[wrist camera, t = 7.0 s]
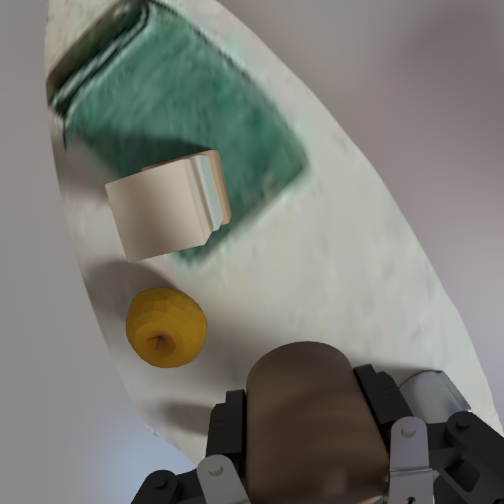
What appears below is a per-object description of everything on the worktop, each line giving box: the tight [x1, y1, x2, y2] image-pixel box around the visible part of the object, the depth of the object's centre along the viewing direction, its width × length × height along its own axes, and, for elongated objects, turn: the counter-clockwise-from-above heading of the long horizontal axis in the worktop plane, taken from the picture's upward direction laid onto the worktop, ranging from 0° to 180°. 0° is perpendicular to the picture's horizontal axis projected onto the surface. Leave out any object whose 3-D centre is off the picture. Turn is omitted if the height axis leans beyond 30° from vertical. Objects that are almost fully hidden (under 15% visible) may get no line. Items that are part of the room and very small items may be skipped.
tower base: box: [141, 150, 232, 225], centre depth 32 cm, size 7×7×5 cm
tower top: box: [105, 159, 214, 263], centre depth 22 cm, size 6×6×5 cm
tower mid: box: [130, 155, 224, 231], centre depth 27 cm, size 6×6×5 cm
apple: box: [126, 287, 207, 368], centre depth 34 cm, size 9×9×9 cm
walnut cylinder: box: [246, 341, 390, 504], centre depth 11 cm, size 5×5×6 cm
